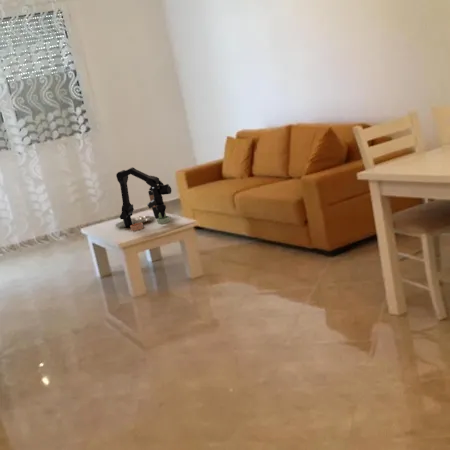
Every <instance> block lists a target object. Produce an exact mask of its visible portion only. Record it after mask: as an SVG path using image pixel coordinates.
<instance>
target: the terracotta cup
mask: <svg viewBox="0 0 450 450" xmlns="http://www.w3.org/2000/svg"><path fill="white" fill-rule="evenodd" d="M129 227H130V230H131V232H132V231H138V230H142V229H143V228H145V227H144V222H136V223H135V222H134V223H133V224H132V225H131V226H129Z"/></svg>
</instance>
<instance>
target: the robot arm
mask: <svg viewBox="0 0 450 450" xmlns="http://www.w3.org/2000/svg"><path fill="white" fill-rule="evenodd" d="M115 175H116V180H117V182H118V183H119V186H120V193H121V200H122V206H121V213H120V216H119V218H120V220H123V226H124V228H129V227H130V226H131V225H132V223H133V220H132V216H133V213H134V210H135V208H134V204H131V201H130V195H129V194H130V193H129V187H128V180H129V176H130V175H132V176H134V177H135V178H137V179H140V180H142V181H144V182H145V183H146V184H147V185H148V186H149V189H148V191H150V190H152V192H153V196H154V198H153V199H154V200H152V201H148V202H147V203H146V205H147V207H148V209H152V207H153V206H154V205H155V206H156V208H157V210H158V211H159V212H160V214H161V216H162V218H164V214H165V213H166V208H167V207H166V204H165V202H164V197H163V196H164V195H165V196H166V195H171V194H172V187H171V185H169V184H168V183H166V184H164V183H163V181H162V180H160V178H159V177H157V176H155V175H149V174H147V173H144V172H142V171H141V170H138V169H136V168H135V167H130V168H128V169H122V170H121V171H118V172H117V173H116V174H115ZM162 195H163V196H162Z"/></svg>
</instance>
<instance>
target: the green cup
mask: <svg viewBox="0 0 450 450" xmlns="http://www.w3.org/2000/svg"><path fill="white" fill-rule="evenodd" d="M156 222H157V224H158V225H161V224H162V225H163V224H167V223H169V222H171V219H170V215H166V217H165V218H163V219H161V218H158V219H156Z"/></svg>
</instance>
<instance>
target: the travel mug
mask: <svg viewBox="0 0 450 450" xmlns="http://www.w3.org/2000/svg"><path fill="white" fill-rule="evenodd" d="M147 193H148V197H149V202H151V201H152V200H154V199H153V198H154V196H153V192H152V190H148V192H147ZM151 210H152V212H153V216H154V219H156V220H157V219H158V218H160V217H159V213H160V212H159V211H158V210H157V208H156V206H155V205H154V206H153V207H152V208H151Z"/></svg>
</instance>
